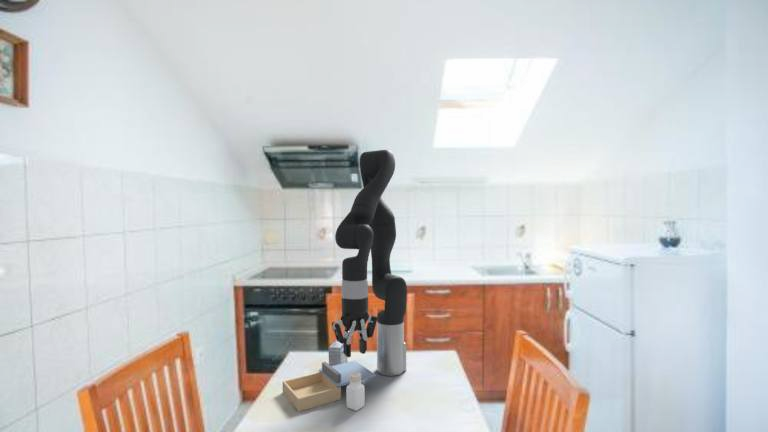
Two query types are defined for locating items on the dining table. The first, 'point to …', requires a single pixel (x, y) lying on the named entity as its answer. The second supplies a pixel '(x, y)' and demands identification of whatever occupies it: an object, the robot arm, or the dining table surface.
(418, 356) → the dining table surface
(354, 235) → the robot arm
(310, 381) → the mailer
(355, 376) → the pepper shaker
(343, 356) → the medicine box
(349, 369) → the lid
